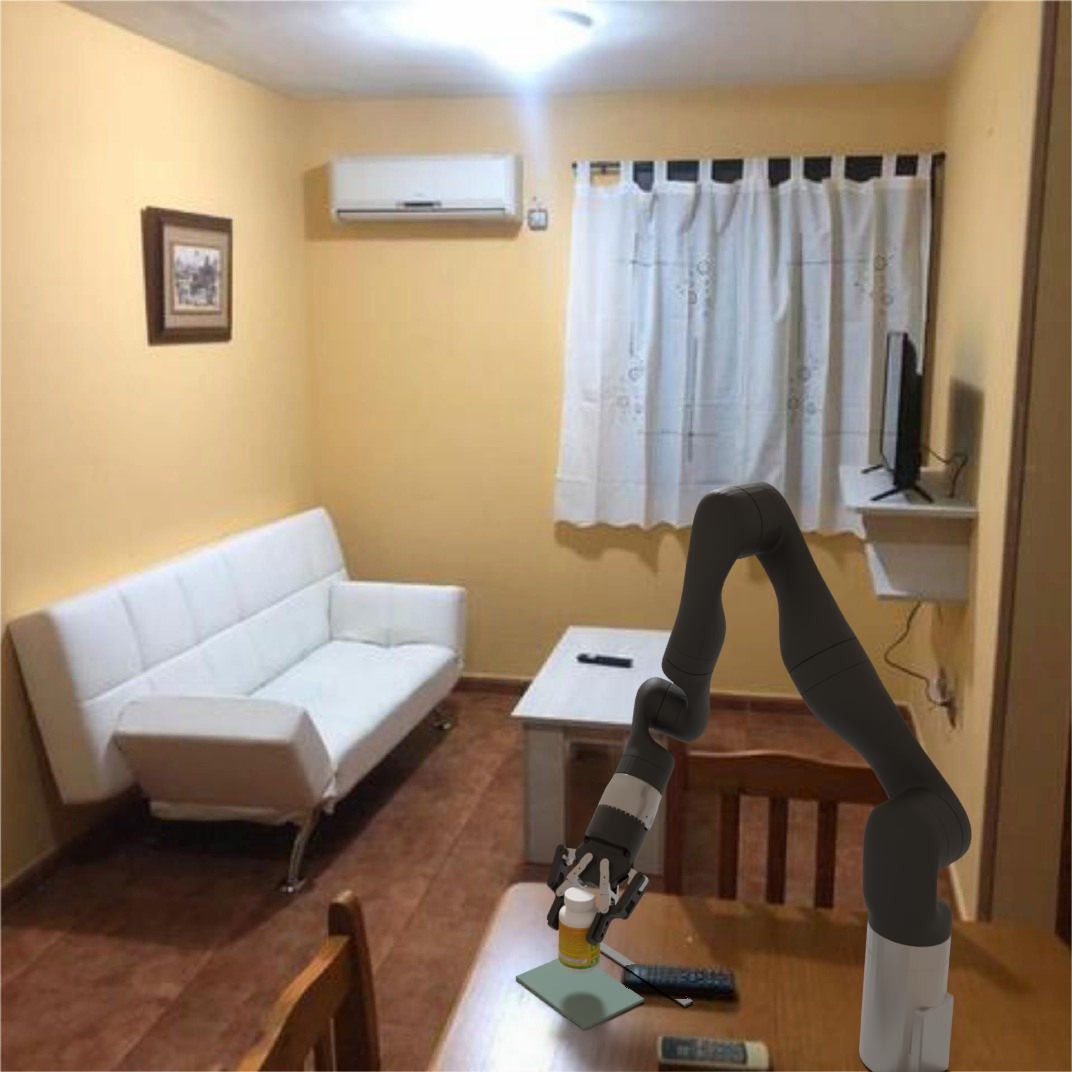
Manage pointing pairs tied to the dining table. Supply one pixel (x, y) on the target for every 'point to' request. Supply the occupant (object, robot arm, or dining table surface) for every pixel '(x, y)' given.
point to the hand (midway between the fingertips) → (571, 935)
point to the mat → (580, 993)
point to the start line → (624, 961)
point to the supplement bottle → (577, 931)
